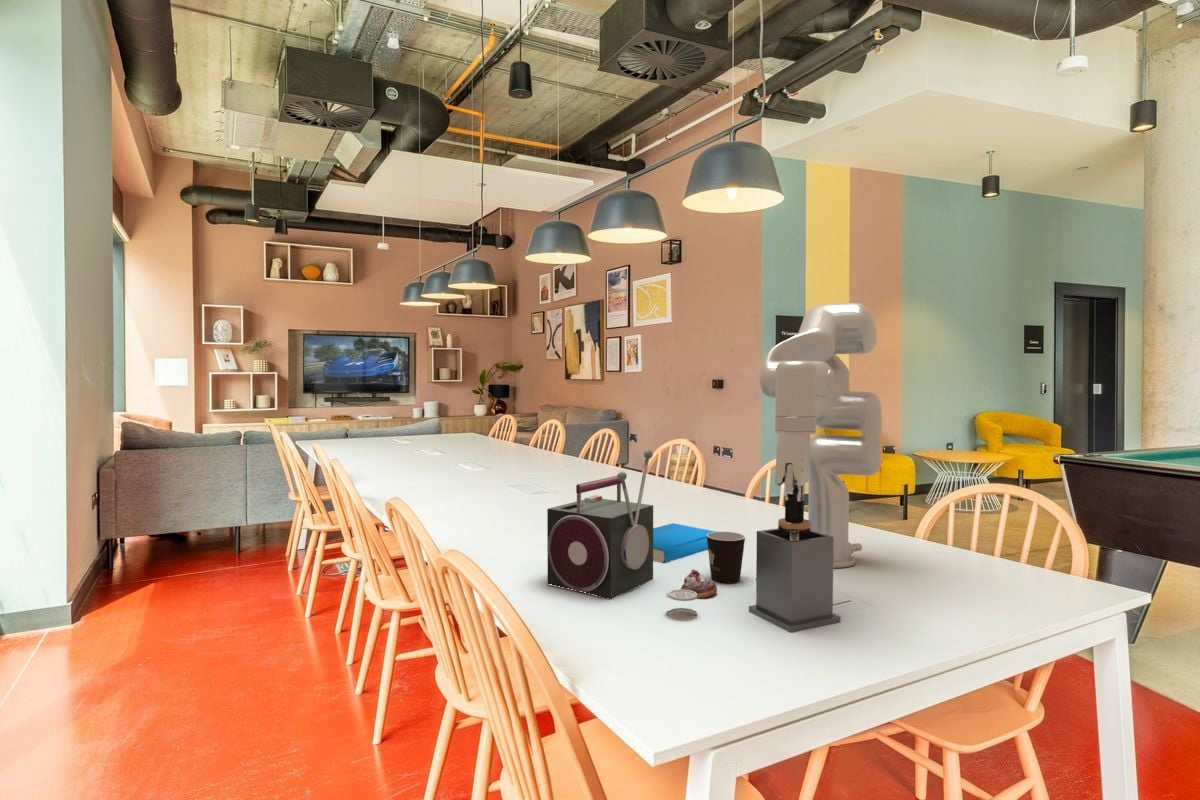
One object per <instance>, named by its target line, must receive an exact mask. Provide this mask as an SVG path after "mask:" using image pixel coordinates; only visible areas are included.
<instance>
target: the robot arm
mask: <svg viewBox="0 0 1200 800" xmlns="http://www.w3.org/2000/svg"><path fill="white" fill-rule="evenodd" d="M877 338H878V335H877V327H876V323H875V321H874V318H873V315H872V312H871V311H870V309H869V308H868V307H867V306H866V305H865V304H863V303H860V302H848V303H847V302H846V303H845V302H843V303H842V302H841V303H840V302H839V303H823V304H817V305H814V306H812V307H810V309H809V310H807V312H805V315H804V317H803V319H802V322H801V325H800V327H799V330H798V332H797V334H795V335H793V336H791V337H789V338H787V339H786V340H783V341H781V342H779V343H777V344H775V345H774V346H773V347H772V348H771V349H770V350H769V351H768V353H767V354H766V356H765V359H764V361H763V363H762V366H761V368H760V373H759V387H760V389H761V392H762V393H763V394H764V395H765V396H767V397H769V398H775V401H774V402H775V405H774V407H775V409H774V411H775V412H774V417H775V418H774V433H775V434H778V437H777V445H776V457H775V459H776V460H775V474H774V475H775V476H774V477H775V479H774V480H775V481H774V483H775V485H776V486H778V487H780V486H782V485H783V484H784V488H785V489H784V491H785V492H784V495H785V496H784V497H785V498H784V499H785V501H784V518H785V521H786V522H796V523H801V522H802V521H803V520H804V519H805V501H804V498H805V497H804V496H805V485H806V484H807V483H808V519H807V520H809V521H811V530H812V531H815V532H818V533H822V534H825V535H829V536H832V537H833V569H835V568H836V569H838V568H839V569H840V568H848V567H852V566H854V565H855V563H856V558H855V557H854V556H853V555H852V553H854V552H861V551H862V550H863V546H862V544H861V543H860V542H858V543H853V544H852V543H851V542H849V527H850V526H849V522H850V521H849V519H850V517H849V514H850V512H849V511H850V508H849V507H850V493H849V489H848V487H847V485H846V483H844V481H843V480H842V478H841V477H840V476H839V475H852V476H874V475H876V474H877V473H878V472H879V470H880V468H881V464H882V463H881V462H882V431H883V430H882V428H883V427H882V424H883V423H882V422H883V421H882V420H883V419H882V418H883V417H882V403H881V400H880V398H879V396H878V395H877V394H876V393H874V392H872V391H871V392H870V391H851V390H850V370H849V368H848V366H847V365H846V364H845V362H844V361H843V360H842V359H841V357H839V356H838V355H854V354H855V355H858V354H860V355H861V354H862V355H864V354H868V353H870V352H872V351H873V349H875V346H876V344H877ZM817 427H818V428H821V429H825V430H839V431H840V430H842V431H843V430H844V431H858V432H860V434H861V435H844V434H819V435H818V434H817ZM811 435H814V436H812V437H811Z"/></svg>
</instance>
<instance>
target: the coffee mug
mask: <svg viewBox="0 0 1200 800" xmlns="http://www.w3.org/2000/svg"><path fill="white" fill-rule="evenodd" d="M745 542H746V536H745V534H742V533H739V532H735V531H716V532H712V533H708V534H707V544H708V549H707V552H708V559H709V570H710V580H712V581H713V582H714V583H717V584H722V585H724V584H725V585H732V584H737V583H739V582H740V580H741V574H742V567H743V566H742V565H743V558H744V551H745V550H744V549H745Z"/></svg>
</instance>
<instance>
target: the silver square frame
mask: <svg viewBox="0 0 1200 800" xmlns="http://www.w3.org/2000/svg"><path fill="white" fill-rule="evenodd" d="M755 567H756V571H755V572H756V573H755V574H756V575H755V577H756V578H755V580H756V581H755V582H756V583H755V584H756V585H755V586H756V587H755V588H756V591H755V592H756V593H755V602H756V603H755V604H754V605H749V606H748V612H750V613H752V614H754V615H755V616H757V617H760V618H762V619H763V620H766V621H767V622H769V623H771V624H774V625H775V626H777V627H779V628H780V629H783V630H785V631H787V632H789V633H794V632H799V631H803V630H804V631H805V630H808V629H813V628H819V627H823V626H828V625H833V624H837V622H838V623H840V622H841V621H842V620H841V619H842V618H841V616H840V615H837V614H836V613H833V611H834V610H833V609H834V607H833V606H834V605H833V604H834V603H833V602H834V598H833V597H834V568H833V537H832V536H829V535H825V534H822V533H818V532H815V531H812V530H811V531H809V532H804V533H799V540H797V541H790V532H786V531H782V530H780V529H778V528H770V529H762V530H756V566H755Z"/></svg>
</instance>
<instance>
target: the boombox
mask: <svg viewBox="0 0 1200 800" xmlns="http://www.w3.org/2000/svg"><path fill="white" fill-rule="evenodd" d="M653 454H654V453H653V451H652V450H651V449H646V450H644V452H643V457H644V458H645V461H644V466H643V469H642V471H643V472H642V476H641V482H640V488H639V493H638V498H637V502H631V501H630V498H629V494H628V489H627V485H626V479H627V478H628V477H627V476H628V475H627V473H626V472H625V471H623V470H621V471H619V472H618V473H617V474H616V475H614V476H608V477H604V478H600V479H597V480H591V481H588V482H587V481H586V482H583V483H578V484H576V486H575V487H576V488H575V490H576V491H575V492H576V501H574V502H573V501H572V502H569V503H565V504H560V505H558V506H554V507H549V508H547V509H546V510H547V512H546V513H547V516H546V518H547V519H546V520H547V521H546V522H547V524H546V525H547V528H546V529H547V539H546V541H547V542H546V543H547V544H546V545H547V585H548V584H552V585H556V586H560V587H564V588H569V589H573V590H576V591H582V592H586V593H590V594H594V595H597V596H601V597H604V598H603V599H606V598H609V599H608V600H610V599H611V600H613V599H615V598H617V597H616V596H618V595H620V594H622V593H624V594H626V593H627V591H628V592H630V591H632V590H634V589H636V588H638V587H640V586H642V585H645V584H647V583H648V582H651V581H653V580H654V560H653V528H654V505H653V504H645V503H642V501H643V500H642V499H643V494H644V488H645V482H646V477H647V472H648V468H649V462H650V459H651V458H653ZM612 486H616V500H615V499H607V498H603V495H597V494H596V495H595V494H594V495H590V496H586V497H585V498H583V499H582V493H587V492H591V491H596V490H600V489H604V488H605V489H606V488H609V487H612ZM622 491H623V495H624V500H625V501H622ZM652 579H653V580H652ZM650 580H651V581H650ZM639 585H640V586H639ZM635 587H636V588H635ZM633 588H634V589H633ZM631 589H632V590H631ZM629 590H630V591H629ZM576 591H575V592H576ZM625 592H626V593H625ZM622 595H623V594H622ZM597 596H596V597H597ZM620 596H621V595H620ZM601 597H600V598H601ZM614 597H615V598H614ZM618 597H619V596H618ZM612 598H613V599H612Z"/></svg>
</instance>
